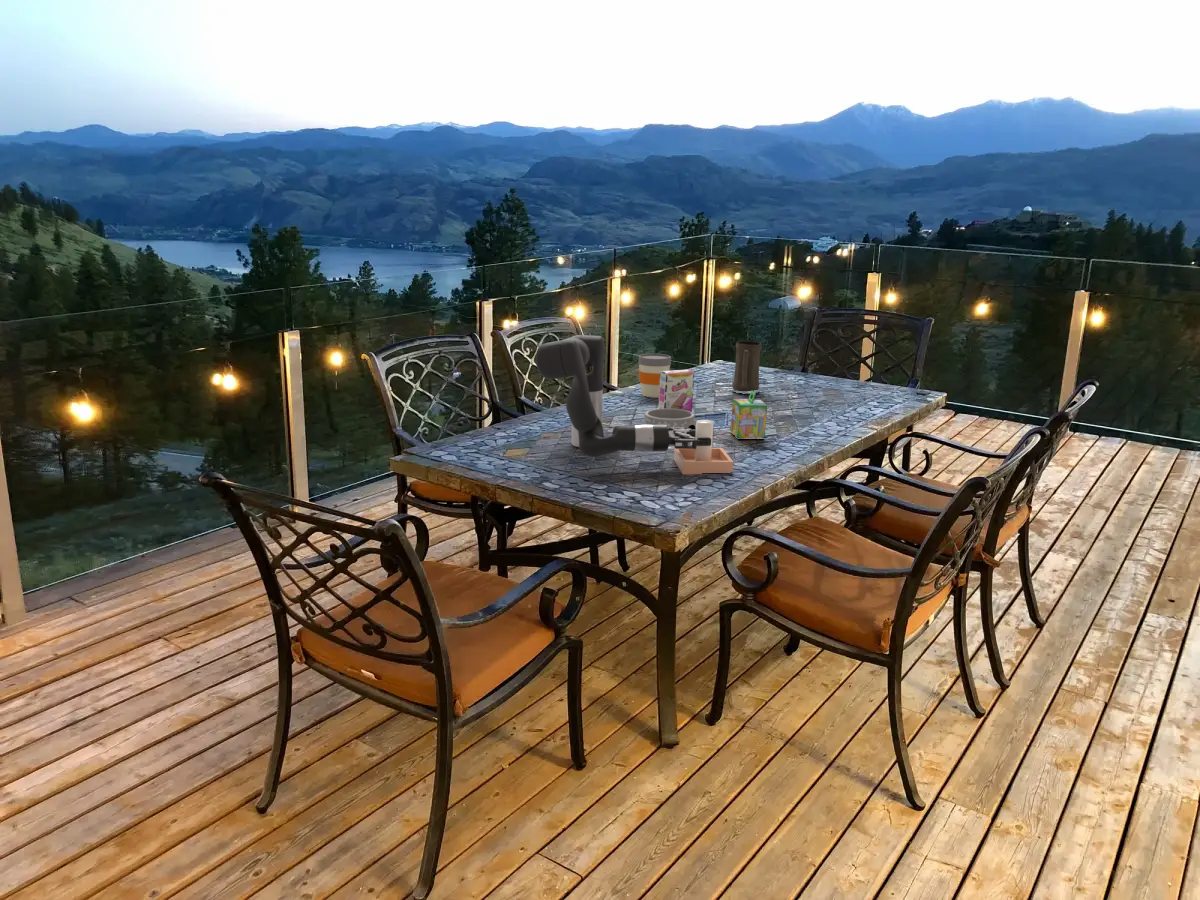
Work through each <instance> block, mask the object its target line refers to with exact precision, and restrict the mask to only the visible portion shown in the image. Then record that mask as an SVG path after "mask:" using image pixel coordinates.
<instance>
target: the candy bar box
mask: <svg viewBox="0 0 1200 900" xmlns="http://www.w3.org/2000/svg"><path fill="white" fill-rule="evenodd" d="M694 385H695V371H693V370H690V369H677V370H675V369H674V370H669V371H660V384H659V397H658V407H657V409H661V408H674V409H683V410H687V411H690V412H692V413H693V400H694Z"/></svg>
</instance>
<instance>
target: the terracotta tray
mask: <svg viewBox="0 0 1200 900" xmlns="http://www.w3.org/2000/svg"><path fill="white" fill-rule="evenodd" d="M694 455H695V449H676V448H675V447H674V449H673V461H674V462H675V465H676V466H677V467H678V469H679V471H680V472H681V474H682V475H703V474H702V473H729V472H733V473H734V460H733V459H732V458H731V456H730V455H729V454H728V453H727V452H726V451H725V449H724V448H723V447H712V458H711V461H694Z"/></svg>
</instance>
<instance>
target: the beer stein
mask: <svg viewBox="0 0 1200 900" xmlns="http://www.w3.org/2000/svg"><path fill="white" fill-rule="evenodd" d="M735 349H736V352H735V354H736V355H735V364H734V373H733V374H734V376H733V382H732V388H733V389H734V390H738V391H751V390H752V391H754V390H758V389H759V390H760V362H761V361H760V360H761V358H760V357H761V351H762V349H763V347H762V342H759V341H756V340H740V341H737V342H736V343H735Z"/></svg>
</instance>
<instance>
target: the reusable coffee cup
mask: <svg viewBox="0 0 1200 900" xmlns="http://www.w3.org/2000/svg"><path fill="white" fill-rule="evenodd" d="M637 363H638V365H639V366H638V367H639V368H638V378H639V383H640V390H641V396H642V397H645V396H646V397H647V398H659V384H660V371H670V370H671V369H670V368H671V365H672V357H671V355H668V354H664V353H663V354H662V353H643V354H640V355H638V361H637ZM646 397H645V398H646Z"/></svg>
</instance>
